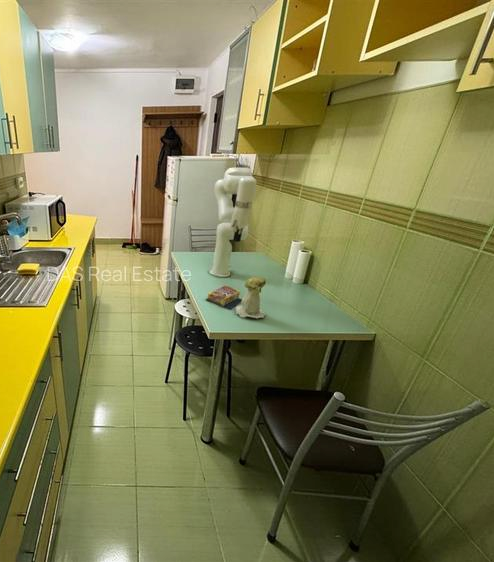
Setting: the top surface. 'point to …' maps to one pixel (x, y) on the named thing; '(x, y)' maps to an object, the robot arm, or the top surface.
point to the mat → (231, 304)
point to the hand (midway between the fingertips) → (236, 241)
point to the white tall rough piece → (252, 299)
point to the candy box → (223, 295)
